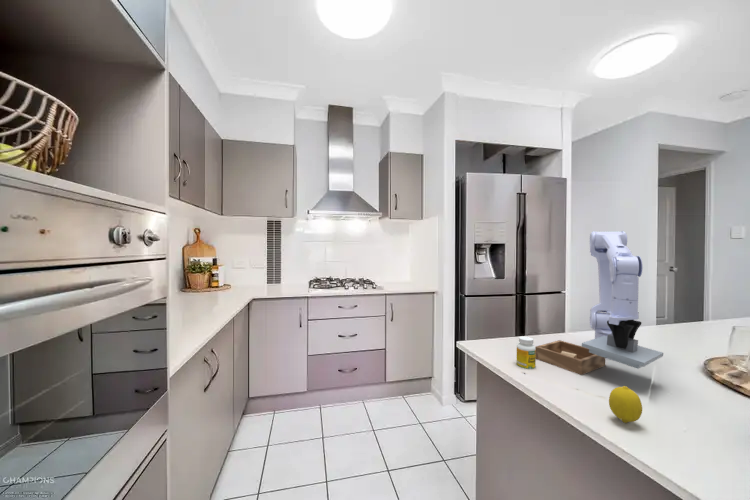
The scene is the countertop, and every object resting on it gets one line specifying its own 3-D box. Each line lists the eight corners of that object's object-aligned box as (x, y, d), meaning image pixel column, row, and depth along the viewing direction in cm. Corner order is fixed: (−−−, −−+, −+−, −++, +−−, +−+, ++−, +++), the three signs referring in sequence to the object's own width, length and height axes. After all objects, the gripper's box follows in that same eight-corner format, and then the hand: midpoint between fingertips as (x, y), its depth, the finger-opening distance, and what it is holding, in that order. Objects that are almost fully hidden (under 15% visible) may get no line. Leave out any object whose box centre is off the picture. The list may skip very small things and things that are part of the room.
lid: (602, 343, 93) (604, 326, 93) (662, 361, 81) (664, 342, 81) (581, 351, 86) (582, 333, 85) (643, 372, 74) (645, 351, 73)
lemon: (602, 415, 67) (602, 381, 66) (624, 414, 67) (625, 380, 67) (624, 431, 61) (625, 393, 61) (649, 430, 62) (650, 392, 61)
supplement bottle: (522, 363, 96) (522, 334, 95) (538, 369, 91) (539, 339, 91) (512, 367, 93) (513, 337, 93) (529, 373, 88) (530, 342, 88)
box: (559, 354, 104) (559, 340, 104) (605, 368, 92) (605, 353, 92) (535, 361, 98) (535, 346, 97) (581, 378, 85) (581, 361, 85)
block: (562, 356, 99) (562, 351, 99) (576, 360, 96) (576, 354, 96) (559, 360, 96) (559, 354, 96) (573, 363, 93) (573, 357, 93)
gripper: (618, 294, 90) (617, 338, 90) (596, 298, 82) (595, 346, 82) (648, 298, 84) (647, 345, 84) (627, 302, 76) (626, 354, 76)
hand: (623, 346), depth 83 cm, fingers closed on lid, 3 cm apart
